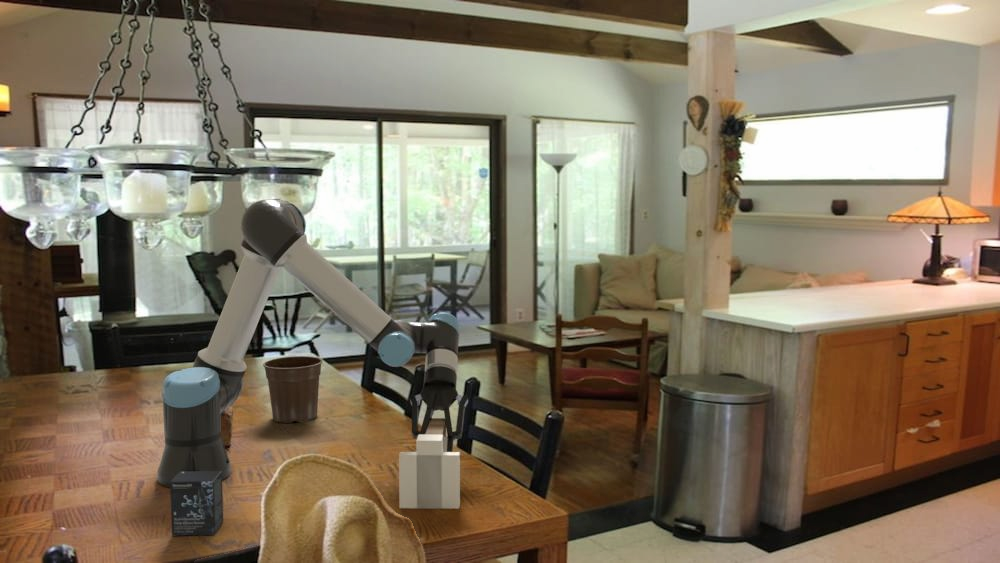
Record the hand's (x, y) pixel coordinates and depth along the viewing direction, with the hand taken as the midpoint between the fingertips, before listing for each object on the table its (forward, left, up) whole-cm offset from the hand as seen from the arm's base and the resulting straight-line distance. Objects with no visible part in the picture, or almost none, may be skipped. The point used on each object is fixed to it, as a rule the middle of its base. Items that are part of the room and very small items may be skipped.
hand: (434, 466), depth 165 cm
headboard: (-6, -3, -5) cm, 8 cm away
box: (-40, +26, -5) cm, 48 cm away
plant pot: (+23, +65, -5) cm, 69 cm away
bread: (-1, +70, -5) cm, 70 cm away
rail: (+2, +1, -3) cm, 4 cm away
